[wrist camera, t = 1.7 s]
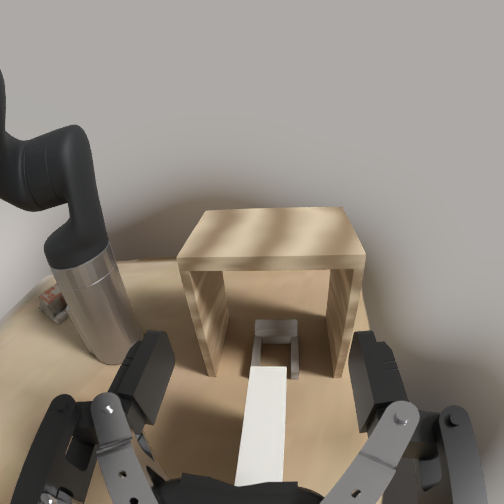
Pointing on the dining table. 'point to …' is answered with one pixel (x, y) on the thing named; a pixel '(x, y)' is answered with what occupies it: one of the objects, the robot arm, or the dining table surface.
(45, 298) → the packaged product
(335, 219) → the wooden arch
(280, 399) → the white box
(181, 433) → the dining table surface
